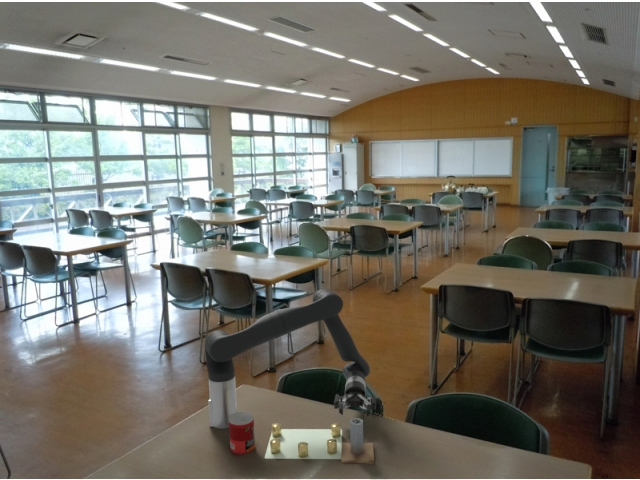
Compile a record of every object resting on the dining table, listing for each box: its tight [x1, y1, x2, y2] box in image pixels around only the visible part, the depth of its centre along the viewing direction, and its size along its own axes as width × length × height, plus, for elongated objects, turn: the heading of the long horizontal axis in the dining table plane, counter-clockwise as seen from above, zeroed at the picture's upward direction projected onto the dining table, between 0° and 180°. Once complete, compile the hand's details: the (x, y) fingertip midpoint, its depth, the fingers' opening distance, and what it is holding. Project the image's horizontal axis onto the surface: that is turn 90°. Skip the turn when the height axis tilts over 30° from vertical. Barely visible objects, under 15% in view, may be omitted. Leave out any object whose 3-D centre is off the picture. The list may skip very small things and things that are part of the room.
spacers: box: [270, 422, 342, 458], centre depth 171 cm, size 23×15×4 cm, turn 87°
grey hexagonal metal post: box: [349, 417, 364, 455], centre depth 165 cm, size 4×5×10 cm
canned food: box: [228, 411, 256, 456], centre depth 170 cm, size 8×8×11 cm
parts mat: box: [264, 428, 343, 460], centre depth 173 cm, size 24×18×1 cm
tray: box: [340, 442, 375, 465], centre depth 166 cm, size 10×10×1 cm
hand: (354, 412), depth 175 cm, fingers open, 8 cm apart
